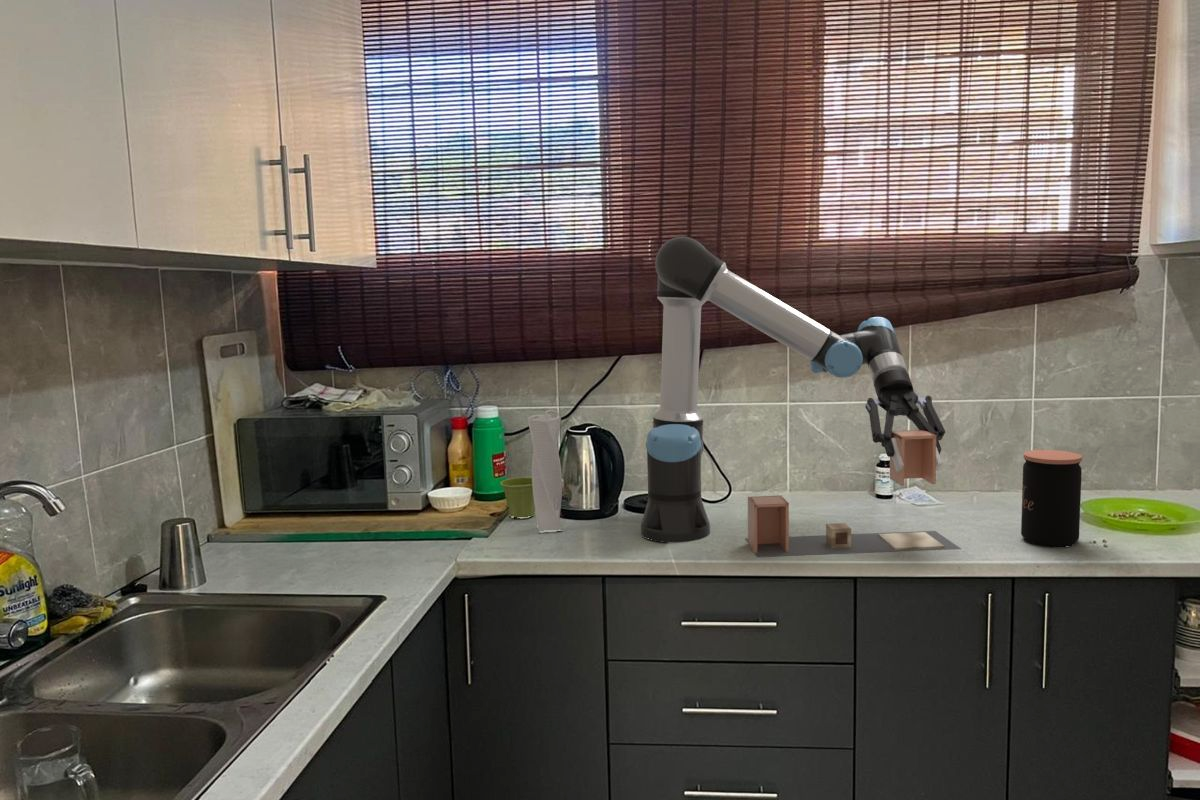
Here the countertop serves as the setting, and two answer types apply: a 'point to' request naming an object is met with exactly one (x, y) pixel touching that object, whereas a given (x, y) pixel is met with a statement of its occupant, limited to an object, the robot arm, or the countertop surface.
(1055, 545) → the coffee jar
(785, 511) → the cover
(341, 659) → the countertop surface
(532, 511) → the plant pot
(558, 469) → the skyscraper
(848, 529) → the letter cube
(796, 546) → the mat
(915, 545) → the coaster
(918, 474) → the cover
